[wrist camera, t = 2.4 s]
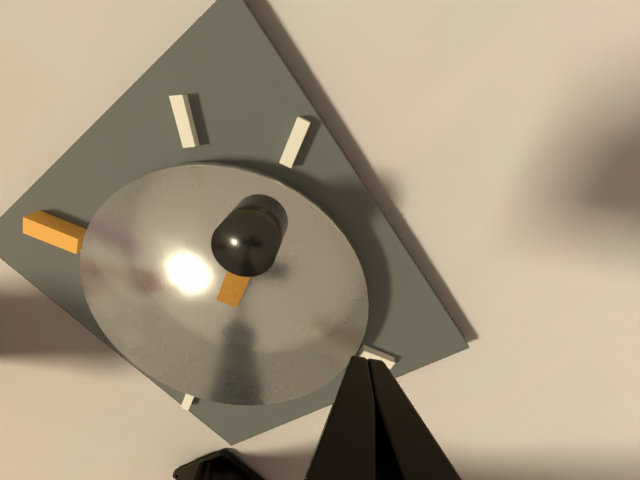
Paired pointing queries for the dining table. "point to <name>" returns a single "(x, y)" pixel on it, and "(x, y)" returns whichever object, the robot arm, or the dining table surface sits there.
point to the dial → (225, 283)
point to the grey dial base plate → (237, 148)
